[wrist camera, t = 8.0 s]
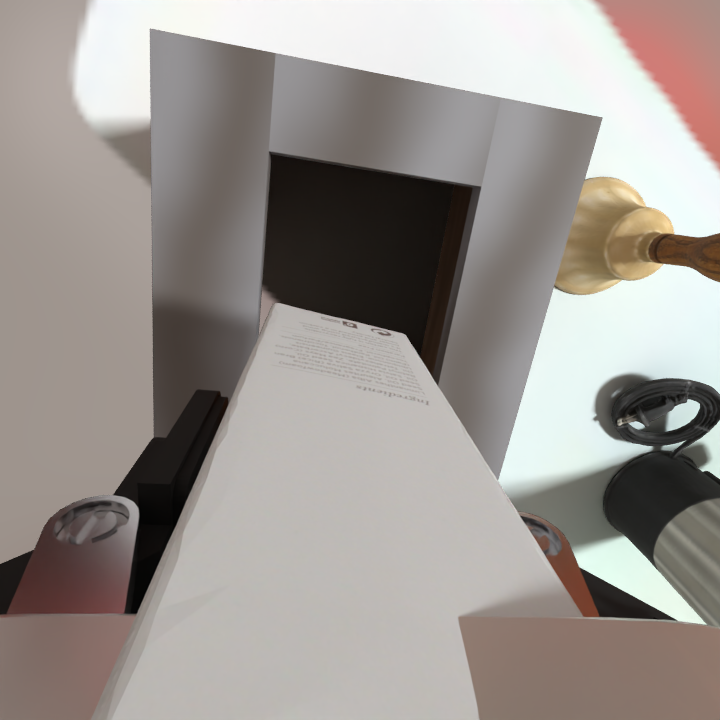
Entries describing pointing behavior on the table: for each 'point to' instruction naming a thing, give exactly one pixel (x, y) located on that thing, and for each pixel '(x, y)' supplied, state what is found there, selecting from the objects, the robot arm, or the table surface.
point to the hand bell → (625, 241)
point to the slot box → (363, 151)
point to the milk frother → (671, 493)
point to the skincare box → (330, 547)
